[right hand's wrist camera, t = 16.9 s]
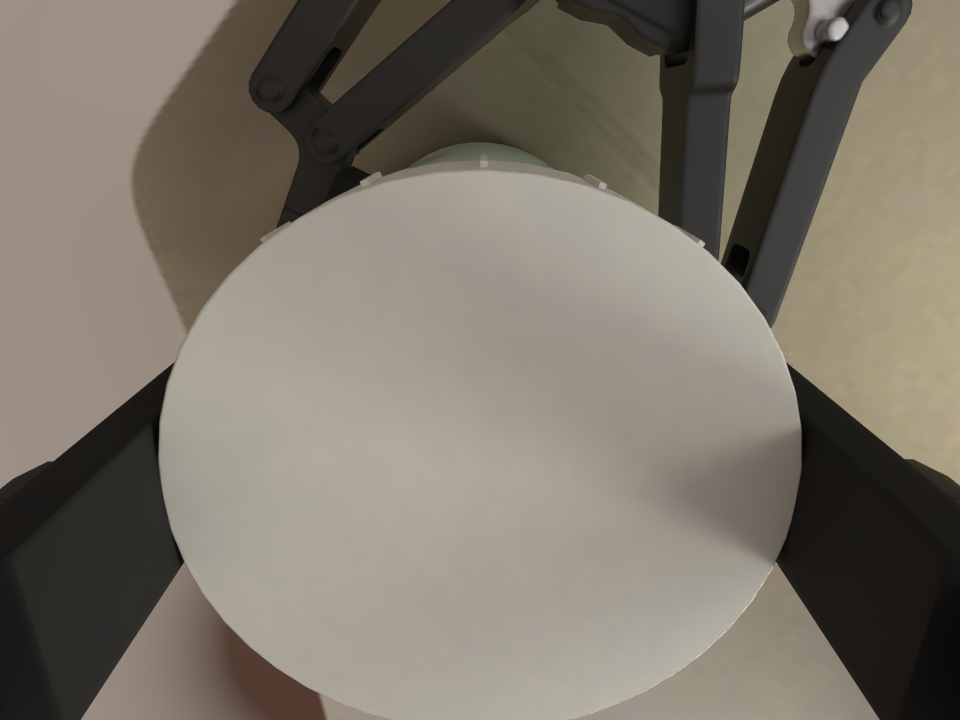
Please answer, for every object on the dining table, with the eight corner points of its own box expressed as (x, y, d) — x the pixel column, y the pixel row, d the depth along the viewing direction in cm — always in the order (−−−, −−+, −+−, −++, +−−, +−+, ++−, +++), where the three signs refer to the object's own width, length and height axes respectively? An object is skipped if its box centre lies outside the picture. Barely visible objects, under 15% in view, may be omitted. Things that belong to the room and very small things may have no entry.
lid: (423, 5, 9) (411, -19, 8) (877, 402, 12) (947, 453, 10) (103, 480, 12) (41, 542, 11) (518, 725, 15) (523, 808, 13)
